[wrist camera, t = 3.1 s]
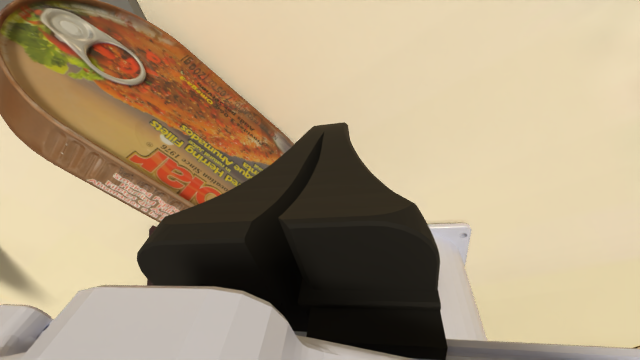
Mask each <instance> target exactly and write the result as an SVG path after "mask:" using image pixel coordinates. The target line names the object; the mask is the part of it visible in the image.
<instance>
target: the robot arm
mask: <svg viewBox="0 0 640 360" xmlns="http://www.w3.org/2000/svg"><path fill="white" fill-rule="evenodd" d="M463 233H464V234H463ZM470 235H471V227H470V225H469V224H467V223H450V224H427V223H426V221H425V219H424V217H423V216H422V214H421V212H420V210H419V209H418V207H417V206H416V205H415V204H414V203H412V202H411V201H409V200H407V199H405V198H403V197H402V196H400V195H398V194H396V193H394V192H393V191H392V190H390V189H389V188H388V187H386V186H385V185H384V184H383V183H382V182H381V181H380V180H378V179H377V178H376V177H375V176H374V175H373V174H372V173H371V172H370V171H369V170H368V168H367V167H366V166H365V165H364V163H363V162H362V161H361V159H360V158H359V156H358V155H357V153H356V151H355V150H354V148H353V146H352V144H351V141H350V137H349V130H348V125H347V124H346V123H345V122H344V123H336V124H328V125H319V126H314V127H312V128H311V129H310V130H309V131H308V132H307V133H306V134H305V135H304V136H303V137H302V138H301V139H299V140H298V141H297V142H296V143H295V144H294V145H293V146H292V147H291V148H290V149H289V150H288V151H286V152H285V153H284V154H283V155H282V156H281V157H279V158H278V159H277V160H276V161H275V162H273V163H272V164H271V165H270V166H268V167H267V168H265V169H264V170H263V171H261V172H260V173H258V174H257V175H255V176H254V177H252V178H250V179H249V180H247V181H245V182H243V183H242V184H240V185H238V186H236V187H235V188H233V189H231V190H229V191H227V192H225V193H223V194H221V195H219V196H217V197H214V198H212V199H210V200H208V201H205V202H203V203H201V204H198V205H195V206H193V207H190V208H187V209H185V210H182V211H179V212H176V213H174V214H171V215H168V216H165V217H164V218H163V219H162V221H161V222H160V223H159V225H158V226H157V227H156V229H155V230H154V231H153V233H152V234H151V235H150V237H149V238H148V239H147V241H146V242H145V243H144V245H143V246H142V247H141V249H140V250H139V251H138V253H137V261H138V264H139V267H140V269H141V271H142V272H143V274H144V275H145V276H146V277H147V279H148V280H149V281H150V282H151V283H152V284H153V285H154V286H138V285H102V286H98V287H93V288H89V289H85V290H81V291H78V293H77V294H76V295H75V296H74V297H73V298H72V300H71V301H70V302H69V303H68V304H67V305H66V307H65V308H64V309H63V310H62V311H61V312H60V314H59V315H58V316H57V317H56V318H55V319H52V318H51V316H49V315H48V314H47V313H45V312H43V311H42V310H40V309H38V308H35V307H33V306H28V305H10V304H3V305H0V360H640V349H638V348H618V347H598V346H578V345H558V344H538V343H518V342H499V341H487V337H486V334H485V331H484V328H483V324H482V321H481V318H480V315H479V312H478V308H477V305H476V302H475V299H474V296H473V292H472V289H471V286H470V283H469V279H468V276H467V273H466V270H465V263H466V257H467V252H468V246H469V241H470Z"/></svg>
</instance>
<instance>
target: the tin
mask: <svg viewBox="0 0 640 360" xmlns="http://www.w3.org/2000/svg"><path fill="white" fill-rule="evenodd" d="M0 114H1V116H2V118H3V119H4V120H5V122H6V123H7V125H8V126H9V128H10V129H11V130H12V131H13V132H14V134H15V135H16V136H17V137H18V138H19V139H20V140H22V141H23V142H24V143H25V144H26V145H27V146H28V147H30V148H31V149H32V150H33V151H35V152H36V153H37V154H39V155H41V156H42V157H43V158H45V159H46V160H48V161H50V162H51V163H53V164H54V165H56V166H58V167H60V168H62V169H63V170H65V171H67V172H69V173H71V174H72V175H74V176H76V177H78V178H80V179H82V180H83V181H85V182H87V183H89V184H91V185H92V186H94V187H96V188H98V189H100V190H102V191H103V192H105V193H107V194H109V195H111V196H112V197H114V198H116V199H118V200H120V201H121V202H123V203H125V204H127V205H129V206H131V207H132V208H134V209H136V210H138V211H140V212H141V213H143V214H145V215H147V216H149V217H151V218H152V219H154V220H156V221H158V222H161V221H162V219H163V218H164V217H165V216H168V215H171V214H174V213H176V212H179V211H182V210H185V209H187V208H190V207H193V206H195V205H198V204H201V203H203V202H205V201H208V200H210V199H212V198H214V197H217V196H219V195H221V194H223V193H225V192H227V191H229V190H231V189H233V188H235V187H236V186H238V185H240V184H242V183H243V182H245V181H247V180H249V179H250V178H252V177H254V176H255V175H257V174H258V173H260V172H261V171H263V170H264V169H265V168H267V167H268V166H270V165H271V164H272V163H273V162H275V161H276V160H277V159H278V158H279V157H281V156H282V155H283V154H284V153H285V152H286V151H288V150H289V149H290V148H291V147H292V146H293V145H294V144H293V143H292V142H291V141H290V139H289V138H288V137H287V136H286V135H284V134H283V133H282V132H281V131H280V130H279V129H278V128H277V127H275V126H274V125H273V124H272V123H271V122H270V121H269V120H267V119H266V118H265V117H264V116H263V115H262V114H261V113H259V112H258V111H257V110H256V109H255V108H254V107H253V106H252V105H250V104H249V103H248V102H247V101H246V100H245V99H243V98H242V97H241V96H240V95H239V94H238V93H237V92H235V91H234V90H233V89H232V88H231V87H230V86H229V85H227V84H226V83H225V82H224V81H223V80H222V79H221V78H220V77H219V76H217V75H216V74H215V73H214V72H213V71H212V70H210V69H209V68H208V67H207V66H206V65H205V64H204V63H203V62H201V61H200V60H199V59H198V58H197V57H196V56H195V55H193V54H192V53H191V52H190V51H189V50H188V49H187V48H185V47H184V46H183V45H182V44H181V43H179V42H178V41H177V40H176V39H174V38H173V37H172V36H170V35H169V34H168V33H166V32H164V31H163V30H161V29H160V28H158V27H157V26H155V25H153V24H152V23H150V22H148V21H146V20H145V19H143V18H141V17H139V16H137V15H135V14H133V13H131V12H129V11H126V10H124V9H122V8H119V7H117V6H114V5H111V4H109V3H105V2H102V1H99V0H14V1H12V2H11V3H9V4H7V5H6V6H5V7H4V8H3V9H2V10H1V11H0Z"/></svg>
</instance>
